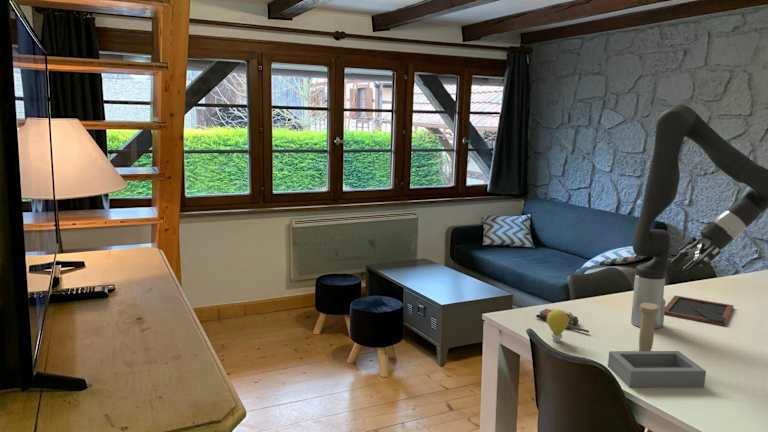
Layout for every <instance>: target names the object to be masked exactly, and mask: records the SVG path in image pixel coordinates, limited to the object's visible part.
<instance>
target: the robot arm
mask: <svg viewBox="0 0 768 432" xmlns="http://www.w3.org/2000/svg"><path fill="white" fill-rule="evenodd" d="M654 134H655V136H654V137H655V139H654V148H653V154H652V157H651V161H650V166H649V171H648V175H647V177H646V182H645V183H646V184H645V188H644V194H643V200H642V206H641V210H640V214H639V218H638V221H637V225H636V228H635V230H634V235H633V239H632V249H633V250H632V251H633V253H634V255H636V256H639V257H652V259H651V260H649V261H647V262H645V263H641V264H639V265H637V266H636V267H635V275H634V284H633V298H632V306H631V307H632V309H631V317H630V322H631V324H632V325H634V326H636V327H639V328H640V327H641V321H642V311H641V310H640V304H641V303H653V304H656V305H658V306H659V308H658V313H655V316H654V330H655V329H659V328H664V320H665V315H664V312H665V307H666V300H665V299H664V293H665V282H666V275H667V274H666V273H667V269H668V261H669V257H670V256H669V254H670V249H671V236H670V233H669V231H668V230H666V229H656V228H652V226H653V224H654V222H655V221H656V219H657V218H658V217H660V215H661V214H663V212H665V210H666V209H668V207H670V206H671V205H672V204H673V202H674V201H675V199H676V197H677V194H678V190H679V185H680V179H681V178H680V177H681V174H680V162H679V156H680V152H681V148H682V144H683V142H684V139H685V138H688V139H689V140H691V141H692V142H694V143H695V144H696V145H698V146H699V147H700V149H701V150H703V152H704V153H705V154H706V155H707V157H708V158H709V159H710V161H711V162H712V164H714V165H715V166H716V168H718V169H719V171H721V172H723V173H724V174H725V175H727V176H729V178H731V179H732V180H733V181H735V182H737V183H739V184H744V185H746V186H748V187H749V188H750V189H749V190H748V191H747V192H746V193H745V194H743V196H742V197H741V198H740V199H738V200H737V201H735V202H734V203H732V204H731V205H730V206H729V207H728V208H727V209H726V210H725V211H723V212H722V213H720V214H719V215H717V216H716V217H715V218H713V220H711V221H710V223H708V224H707V225H705V227H703V228H702V229H701V230H700V232H699V233H700V235H701V237H700V238H698V239H697V238H696V236H693V237H691V238H690V239H689V240H688V241H686V242H685V243H684V244H683V245H682V246H680V247H679V248H678V251H679V252H678V254H677V255H676V256H675V257H674V258H672V260H670V264H671V265H672V266H673V267H675V268H677V267H678V266H680V265H681V264H682V263H683V262H684V261H685V260H686V259H689V258H690V257H692V258H693V259H692V260H690V261H689V262H688V263H686V264H685V266H683V267H682V271H684V273H685V274H686V275H690V274H691V273H693V272H694V270H696V269H697V268H698V267H702V266H703V267H706V266H708V265H709V264H710V263H711V262H712V261H713V260H714V259H715V258H717V256H719V255H720V254H721V250H723V249H725V248H726V247H727V246H729V244H730V243H731V242H732V241H734V240H735V239H737V237H739V236H740V235H741V234H742V233H743V232H744V230H745V229H746V228H748V227H749V226H750V225H751V224H753V222H755V221H756V220H757V219H758V218H759V217H760V215H761V214H762V213H763V212H764V211H765V210H767V209H768V168H766V167H764V166H762V165H760V164H758V163H756V162H755V161H754V160H752V159H751V158H750V157H749V156H747V155H745V154H744V153H743V152H741V151H740V150H739V149H738V148H736V147H734V146H733V145H732V144H730V143H729V141H727V140H725V138H723V137H722V136H721V135H720V134H719V133H717V132H716V131H715V129H713V128H712V127H711V126H710V125H709V124H708V123H707V122H706V121H705V120H704V119H703V118H702V117H701V116H700V115H699V114H698V113H697V112H696V111H695V110H694V109H693V108H691V107H690V106H688V105H686V104H677V105H676V104H675V105H673V106H671V107H670V108H668V109H666V110H664V111H663V112H662V113H661V114H660V115H659V116H658V119H657V120H656V125H655V133H654Z"/></svg>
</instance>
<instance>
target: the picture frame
mask: <svg viewBox="0 0 768 432" xmlns="http://www.w3.org/2000/svg"><path fill="white" fill-rule="evenodd" d="M733 309H734V305H733V304H727V303H723V302H715V301H709V300H704V299H698V298H692V297H686V296H681V295H674V296H673V297H672V298H671V299H670V301H669V302H668V303H667V304H666V305H665V312H664V316H668V317H672V318H673V317H674V318H678V319H684V320H688V321H689V320H690V321H693V322H700V323H704V324H710V325H714V326H715V325H716V326H720V327H726V325H727V322H728V320H729V319H730V316H731V315H732V312H733Z"/></svg>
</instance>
